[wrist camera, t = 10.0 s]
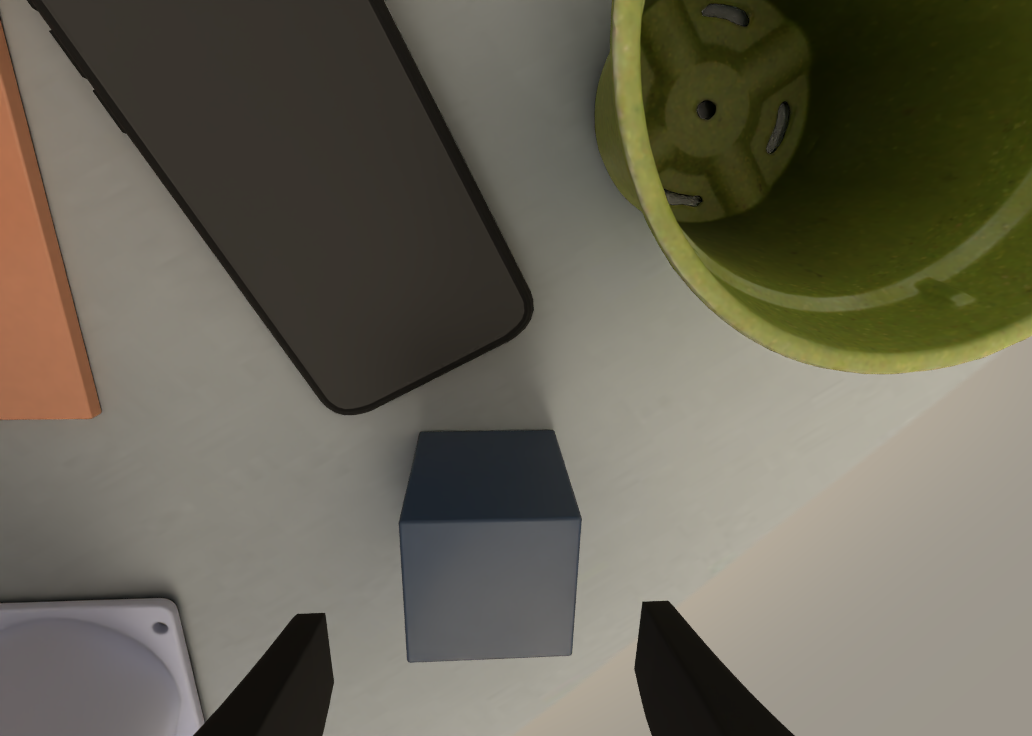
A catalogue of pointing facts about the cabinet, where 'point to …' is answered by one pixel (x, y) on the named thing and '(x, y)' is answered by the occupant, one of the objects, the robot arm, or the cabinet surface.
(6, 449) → the cabinet surface
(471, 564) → the slate block
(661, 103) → the plant pot
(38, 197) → the sorting board
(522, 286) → the smartphone
